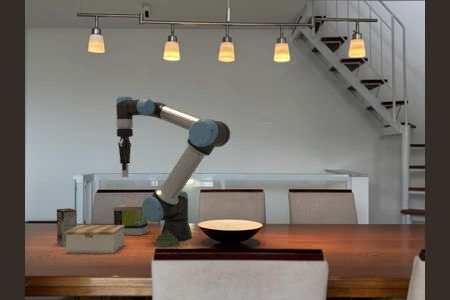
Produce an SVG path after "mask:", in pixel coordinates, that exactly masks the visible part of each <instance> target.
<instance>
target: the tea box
mask: <svg viewBox="0 0 450 300" xmlns="http://www.w3.org/2000/svg"><path fill="white" fill-rule="evenodd" d="M113 225H125V228H124V236H143V235H144V234H146V233H147V232H148V226H149V225H148V220H147V219H146V218H145V216H144V214H143V210H142V204H120V205H117V206H114V207H113Z"/></svg>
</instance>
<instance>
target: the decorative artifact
mask: <svg viewBox="0 0 450 300" xmlns="http://www.w3.org/2000/svg"><path fill="white" fill-rule="evenodd" d="M178 245H179V241H178V238H175V236H174V235H172V233H169V231H167V229H166V231H165V232H164V233H163V234H162V235H161V234H160V235H157V238H156V239H155V246H156V247H158V248H173V247H175V246H178Z"/></svg>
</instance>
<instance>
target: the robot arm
mask: <svg viewBox="0 0 450 300" xmlns="http://www.w3.org/2000/svg"><path fill="white" fill-rule="evenodd" d="M115 106H116V122H115V124H116V128H117V129H116V137H119V139H120V140H119V142H118V143H117V145H118V151H119V152H118V153H119V164H121V177H122V178H129V164H131V147H132V143H131V141H130V137H133V133H134V132H133V131H134V129H133V126H134V125H133V124H134V122H133V118H134V116H135V117H136V116H145V117H151V118H156V119H159V120H162V121H165V122H166V123H170V124H172V125H175V126H176V127H177V126H178V127H180V128H182V129H185V130H187V131H188V138H187V140H186V143H187V146H186V148H185V150H184V151H183V153H182V154H181V156H180V157H179V158H178V161H177V162H176V164H174V165H175V166H174V167H173V168H172V170H171V172H170V173H169V175H168V176H167V178H166V179H165V181H164V182H163V184H162V185H161V186H159V187H156V189H155V190H154V192H153V193H152V194H151V195H150V196H147V197H146V198H144V200H143V202H142V204H141V205H142V210H143V214H144V216H145V218H146V219H147V221H149V222H151V223H157V222H159V223H160V222H161V221H163V226H162V230H161V232H160V235H162V234H163V233H164V232H165V231H166V229H167V231H169V233H172V235H174V236H175V238H178V242H180V241H181V242H182V241H187V240H188V241H189V240H190V239H192V237H193V233H192V228H191V226H190V224H189V197H188V194H189V193H188V192H186V191H183V189H184V188H185V187H186V185H187V183H188V182H189V181H190V179H191V177H192V176H193V175H194V173H195V171H196V170H197V168H198V167H199V165H200V164H201V162H202V161H203V159H204V158H205V157H207V156H210V155H211V154H212V152H213V150H214V149H215V148H220V147H223V146H225V145H226V144H227V143H228V142H229V141H230V138H231V130H230V127H229V126H228V125H227V124H226V123H225V122H223V121H219V120H213V119H211V118H210V119H209V118H202V117H199V116H197V115H193V114H192V113H188V112H186V111H182V110H180V109H177V108H175V107H172V106H169V105H167V104H165V103H163V102H157V101H154V100H152V99H151V98H138V99H133V98H132V96H130V95H129V96H127V95H121V96H119V95H118V96H117V98H116V104H115Z"/></svg>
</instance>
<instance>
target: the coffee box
mask: <svg viewBox="0 0 450 300" xmlns="http://www.w3.org/2000/svg"><path fill="white" fill-rule="evenodd" d="M77 211H78V210H76V209H74V208H57V209H56V233H57V234H56V241H57V244H58V245H59V246H61V247H63V248H64V247H65V248H66V235H64V232H66V231H68V230H70V229H73V228H75V227H77V226H78V225H77V221H78V220H77V218H78V217H77Z"/></svg>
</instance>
